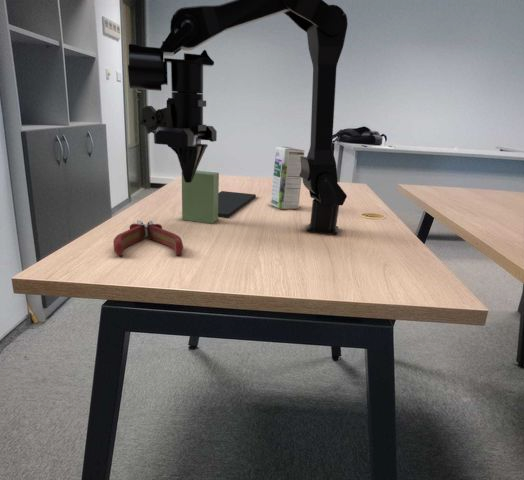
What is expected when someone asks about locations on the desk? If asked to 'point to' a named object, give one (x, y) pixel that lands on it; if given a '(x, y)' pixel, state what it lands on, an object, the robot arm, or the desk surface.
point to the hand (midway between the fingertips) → (188, 182)
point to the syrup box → (286, 178)
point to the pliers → (153, 233)
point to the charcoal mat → (232, 202)
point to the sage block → (201, 197)
